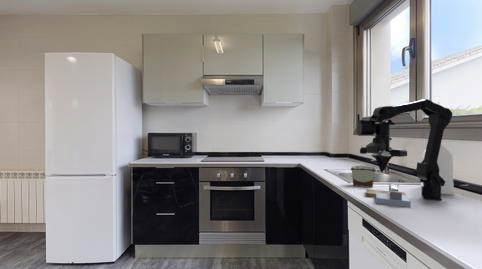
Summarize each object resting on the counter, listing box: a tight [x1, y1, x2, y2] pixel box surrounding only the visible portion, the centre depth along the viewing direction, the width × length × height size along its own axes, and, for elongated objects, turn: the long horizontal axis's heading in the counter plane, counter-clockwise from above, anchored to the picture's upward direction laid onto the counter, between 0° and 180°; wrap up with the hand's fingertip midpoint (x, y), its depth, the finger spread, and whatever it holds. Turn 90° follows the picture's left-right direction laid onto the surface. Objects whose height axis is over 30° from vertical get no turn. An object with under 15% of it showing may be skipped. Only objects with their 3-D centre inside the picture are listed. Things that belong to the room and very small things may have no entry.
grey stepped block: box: [375, 191, 412, 208], centre depth 117 cm, size 12×10×5 cm
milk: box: [420, 144, 455, 195], centre depth 139 cm, size 12×12×26 cm
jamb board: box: [365, 188, 407, 198], centre depth 128 cm, size 16×9×2 cm, turn 65°
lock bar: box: [388, 182, 400, 192], centre depth 121 cm, size 13×4×3 cm, turn 154°
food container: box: [350, 165, 377, 188], centre depth 151 cm, size 12×6×10 cm, turn 65°
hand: (382, 171), depth 124 cm, fingers closed
